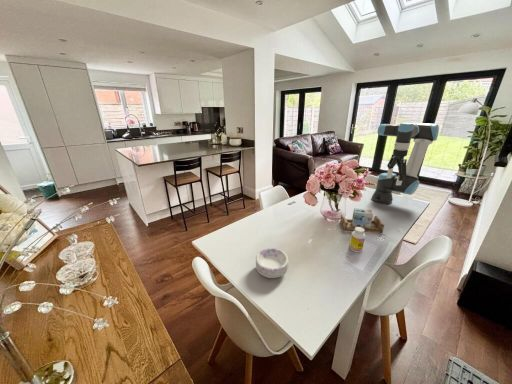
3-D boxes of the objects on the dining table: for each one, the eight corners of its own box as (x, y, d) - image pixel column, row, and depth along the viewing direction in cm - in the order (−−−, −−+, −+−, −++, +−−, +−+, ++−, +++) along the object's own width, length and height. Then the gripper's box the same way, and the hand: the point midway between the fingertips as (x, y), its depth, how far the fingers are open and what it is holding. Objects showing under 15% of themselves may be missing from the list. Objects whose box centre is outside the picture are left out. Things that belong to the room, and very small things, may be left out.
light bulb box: (352, 227, 135) (354, 212, 131) (351, 222, 141) (353, 207, 137) (370, 229, 131) (373, 214, 127) (368, 224, 137) (371, 209, 133)
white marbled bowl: (264, 287, 91) (264, 273, 88) (251, 265, 104) (250, 252, 101) (294, 277, 97) (295, 263, 94) (277, 257, 110) (278, 244, 107)
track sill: (340, 221, 143) (341, 214, 141) (374, 223, 140) (376, 215, 138) (344, 231, 132) (346, 222, 130) (382, 233, 130) (384, 224, 127)
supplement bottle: (356, 254, 111) (360, 233, 106) (346, 247, 117) (350, 227, 112) (365, 250, 114) (369, 230, 109) (354, 244, 119) (358, 224, 115)
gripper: (385, 145, 141) (379, 175, 149) (404, 153, 118) (396, 188, 126) (397, 145, 140) (390, 175, 148) (419, 153, 117) (409, 188, 125)
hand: (393, 181), depth 137 cm, fingers open, 13 cm apart
